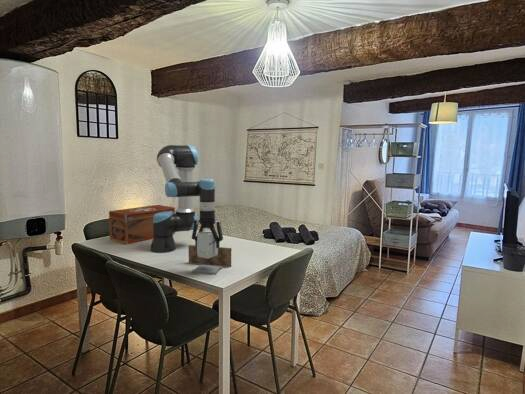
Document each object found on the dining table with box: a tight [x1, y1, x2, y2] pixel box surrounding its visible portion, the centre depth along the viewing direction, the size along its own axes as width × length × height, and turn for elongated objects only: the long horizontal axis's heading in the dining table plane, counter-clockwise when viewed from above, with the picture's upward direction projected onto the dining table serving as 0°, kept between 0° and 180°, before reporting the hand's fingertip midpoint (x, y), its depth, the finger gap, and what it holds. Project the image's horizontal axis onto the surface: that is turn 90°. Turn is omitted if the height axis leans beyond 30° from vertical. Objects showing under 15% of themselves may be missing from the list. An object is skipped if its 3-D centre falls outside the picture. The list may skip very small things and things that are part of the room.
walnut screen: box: [188, 244, 232, 268], centre depth 178 cm, size 24×1×10 cm, turn 79°
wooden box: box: [108, 204, 176, 245], centre depth 235 cm, size 20×41×20 cm, turn 144°
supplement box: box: [196, 229, 217, 259], centre depth 168 cm, size 7×7×13 cm
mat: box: [192, 264, 223, 276], centre depth 169 cm, size 12×10×1 cm
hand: (207, 253), depth 168 cm, fingers closed on supplement box, 9 cm apart
